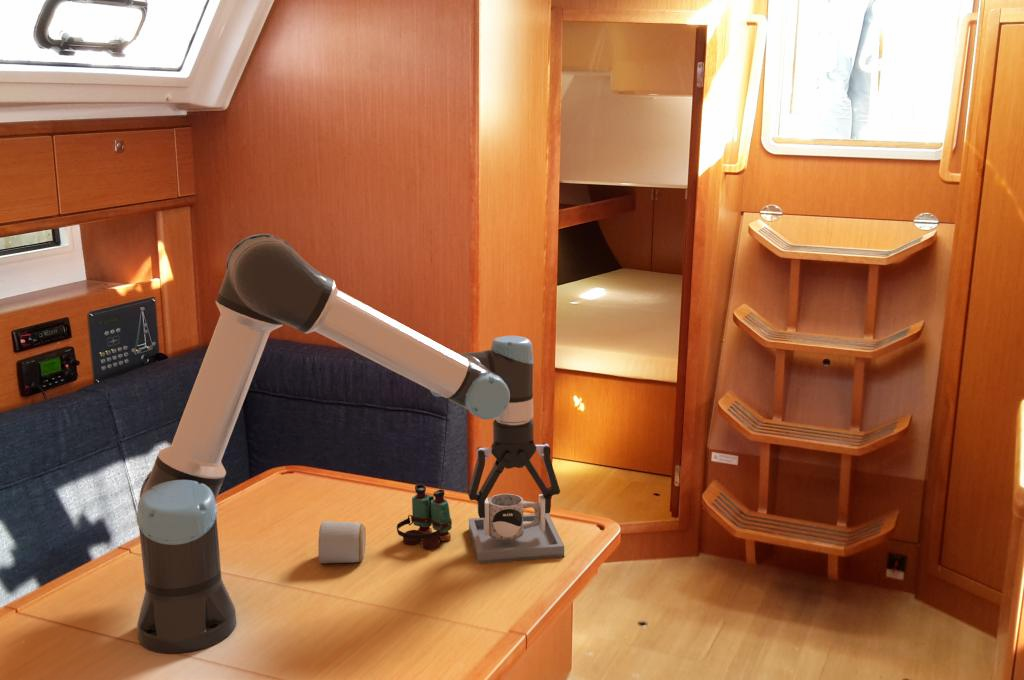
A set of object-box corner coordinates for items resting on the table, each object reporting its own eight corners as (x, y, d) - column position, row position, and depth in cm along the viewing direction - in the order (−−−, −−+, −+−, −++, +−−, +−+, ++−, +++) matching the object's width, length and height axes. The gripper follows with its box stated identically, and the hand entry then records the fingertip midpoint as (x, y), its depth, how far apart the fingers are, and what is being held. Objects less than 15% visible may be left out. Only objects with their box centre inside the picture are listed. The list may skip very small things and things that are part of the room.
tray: (478, 563, 188) (478, 552, 188) (468, 529, 204) (468, 518, 203) (564, 557, 191) (564, 545, 190) (548, 523, 206) (548, 512, 206)
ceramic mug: (364, 568, 187) (362, 528, 186) (318, 570, 187) (316, 530, 185) (368, 545, 197) (366, 507, 196) (325, 546, 197) (323, 508, 195)
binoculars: (386, 500, 193) (418, 478, 201) (392, 550, 197) (423, 527, 205) (424, 509, 189) (455, 487, 197) (430, 560, 192) (460, 536, 200)
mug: (492, 541, 193) (491, 508, 191) (485, 527, 199) (485, 495, 197) (544, 536, 195) (543, 503, 193) (536, 523, 201) (535, 490, 199)
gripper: (568, 410, 197) (568, 519, 202) (450, 416, 194) (453, 527, 199) (576, 421, 190) (576, 534, 195) (454, 428, 186) (457, 543, 191)
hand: (514, 530), depth 197 cm, fingers closed on mug, 10 cm apart
